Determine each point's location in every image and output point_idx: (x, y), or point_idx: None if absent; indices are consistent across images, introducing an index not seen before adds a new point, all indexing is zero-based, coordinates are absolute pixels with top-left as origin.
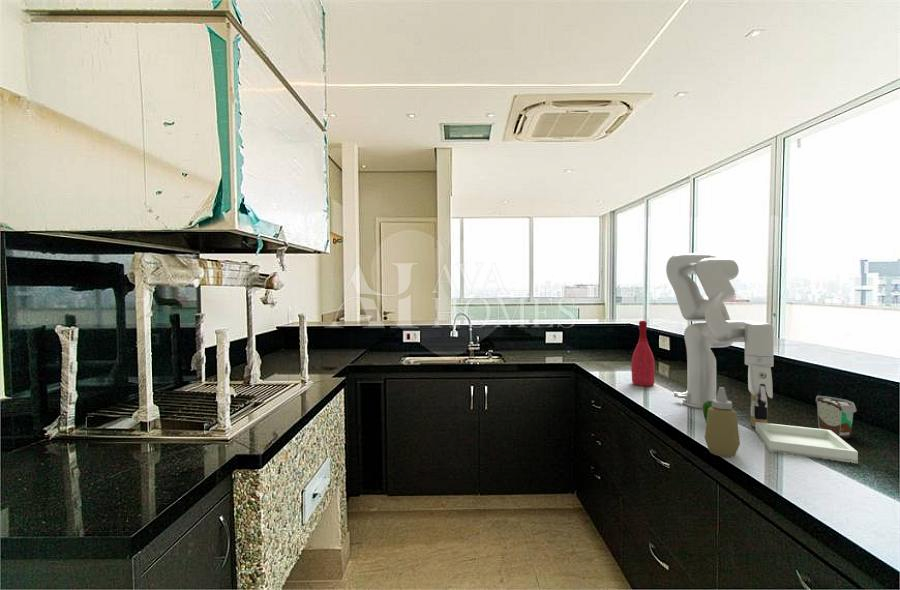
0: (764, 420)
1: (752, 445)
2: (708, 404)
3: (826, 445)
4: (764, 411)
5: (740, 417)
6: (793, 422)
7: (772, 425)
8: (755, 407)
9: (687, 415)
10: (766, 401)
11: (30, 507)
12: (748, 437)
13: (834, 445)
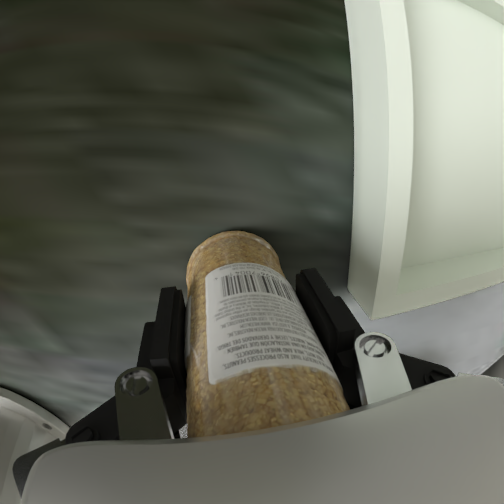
0: (280, 272)
1: (491, 291)
2: None
3: (478, 39)
4: (355, 321)
5: (87, 341)
6: (9, 81)
7: (401, 237)
8: None
9: None
10: (407, 379)
11: None
12: (432, 307)
13: (464, 6)
